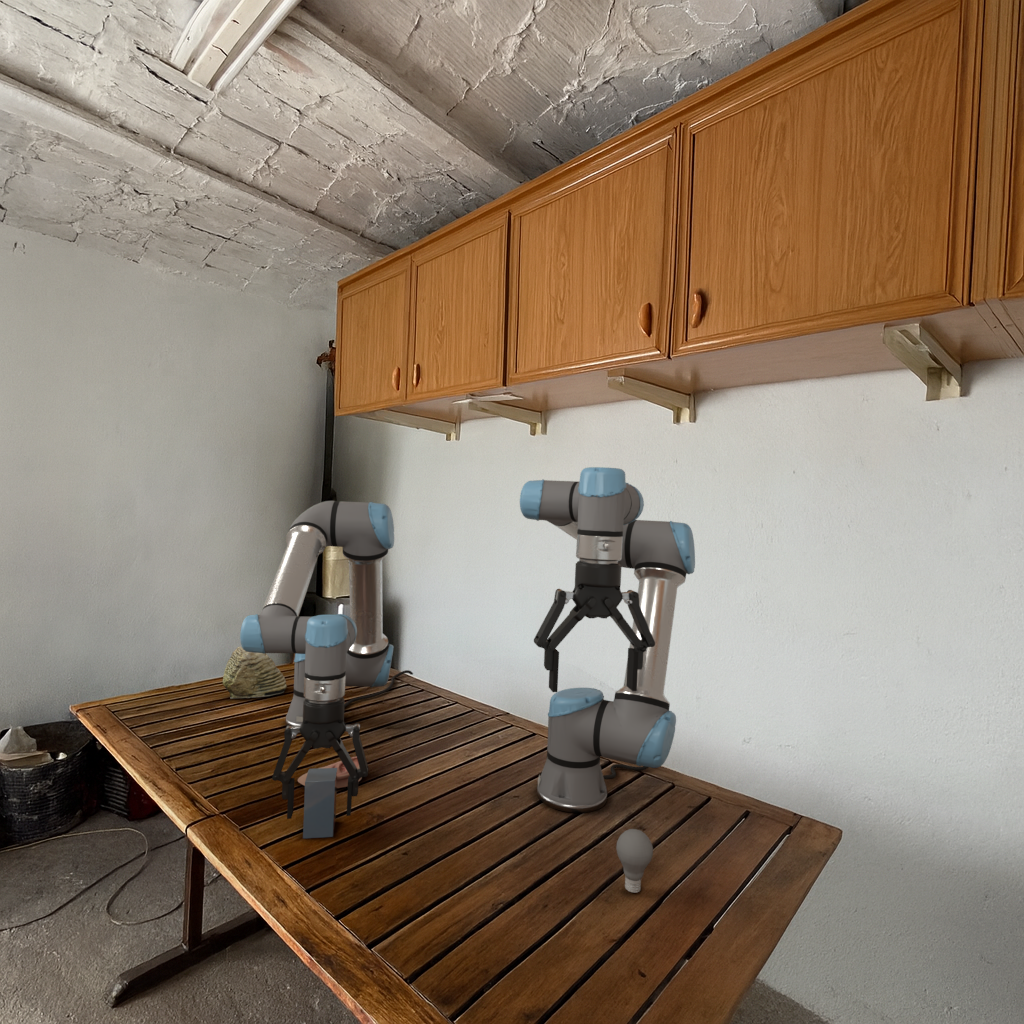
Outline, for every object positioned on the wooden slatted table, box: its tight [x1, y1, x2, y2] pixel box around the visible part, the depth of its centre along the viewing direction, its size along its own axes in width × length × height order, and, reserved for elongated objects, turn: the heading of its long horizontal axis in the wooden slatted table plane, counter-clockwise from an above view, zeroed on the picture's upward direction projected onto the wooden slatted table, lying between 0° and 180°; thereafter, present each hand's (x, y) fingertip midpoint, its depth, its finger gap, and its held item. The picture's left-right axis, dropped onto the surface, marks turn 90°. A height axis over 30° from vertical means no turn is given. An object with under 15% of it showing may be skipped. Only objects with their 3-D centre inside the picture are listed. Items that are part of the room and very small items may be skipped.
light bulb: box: [615, 828, 654, 894], centre depth 106 cm, size 6×6×10 cm
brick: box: [302, 767, 338, 839], centre depth 121 cm, size 6×5×11 cm
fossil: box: [222, 646, 288, 699], centre depth 198 cm, size 9×18×15 cm, turn 132°
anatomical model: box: [297, 755, 363, 789], centre depth 142 cm, size 13×4×12 cm
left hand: (319, 813), depth 121 cm, fingers open, 10 cm apart
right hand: (592, 689), depth 105 cm, fingers open, 13 cm apart
